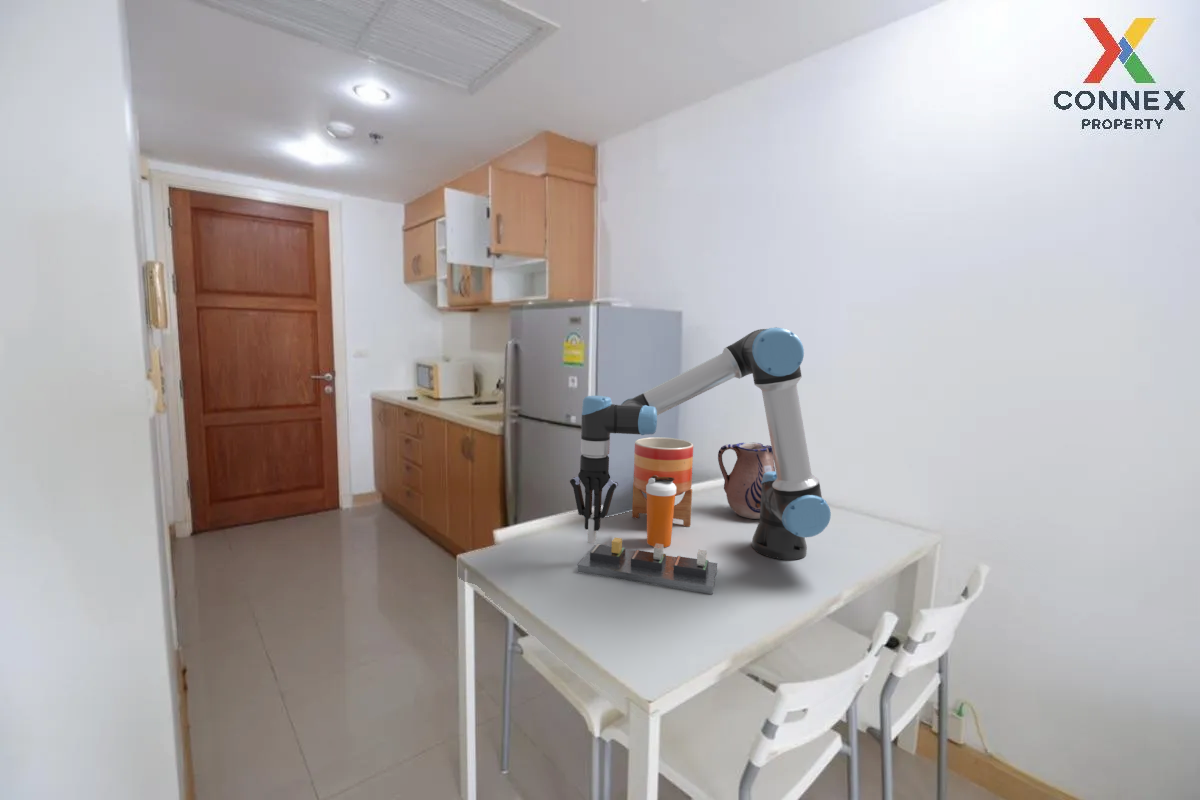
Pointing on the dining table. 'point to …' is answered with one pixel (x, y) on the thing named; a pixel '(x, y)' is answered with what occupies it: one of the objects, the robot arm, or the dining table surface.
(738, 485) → the ceramic pitcher
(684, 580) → the breaker panel
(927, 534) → the dining table surface
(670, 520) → the shaker bottle
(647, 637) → the dining table surface
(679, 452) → the planter
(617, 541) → the toggle
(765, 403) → the robot arm
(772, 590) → the dining table surface
